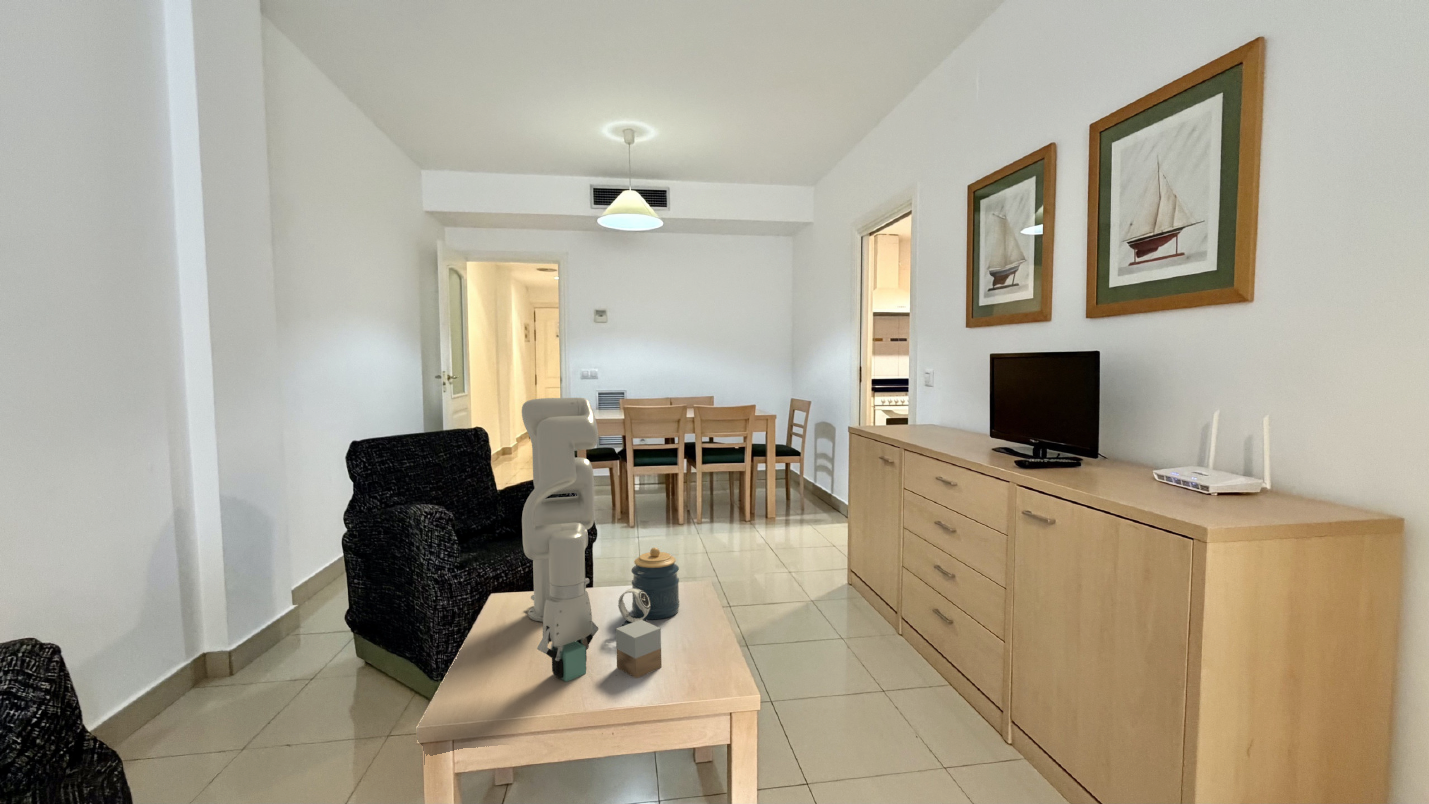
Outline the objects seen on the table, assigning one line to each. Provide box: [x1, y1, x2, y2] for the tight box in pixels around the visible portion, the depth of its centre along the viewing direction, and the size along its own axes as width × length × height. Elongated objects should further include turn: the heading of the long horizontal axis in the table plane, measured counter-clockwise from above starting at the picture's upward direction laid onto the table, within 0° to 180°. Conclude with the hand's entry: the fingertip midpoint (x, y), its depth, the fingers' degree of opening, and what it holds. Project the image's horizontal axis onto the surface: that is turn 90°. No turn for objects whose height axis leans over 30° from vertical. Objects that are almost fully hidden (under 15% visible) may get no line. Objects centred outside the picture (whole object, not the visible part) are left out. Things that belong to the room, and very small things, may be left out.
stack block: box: [556, 641, 587, 683], centre depth 134 cm, size 5×5×6 cm
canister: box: [630, 547, 680, 620], centre depth 168 cm, size 13×13×18 cm
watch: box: [617, 587, 651, 627], centre depth 154 cm, size 6×8×11 cm
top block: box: [615, 620, 662, 659], centre depth 136 cm, size 7×7×4 cm
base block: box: [616, 647, 662, 679], centre depth 136 cm, size 7×7×4 cm
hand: (569, 670), depth 134 cm, fingers closed on stack block, 5 cm apart
